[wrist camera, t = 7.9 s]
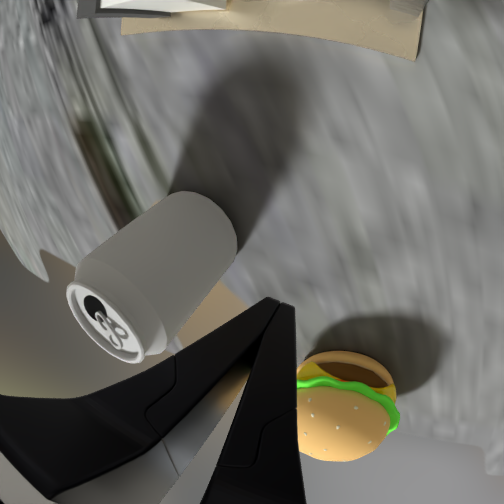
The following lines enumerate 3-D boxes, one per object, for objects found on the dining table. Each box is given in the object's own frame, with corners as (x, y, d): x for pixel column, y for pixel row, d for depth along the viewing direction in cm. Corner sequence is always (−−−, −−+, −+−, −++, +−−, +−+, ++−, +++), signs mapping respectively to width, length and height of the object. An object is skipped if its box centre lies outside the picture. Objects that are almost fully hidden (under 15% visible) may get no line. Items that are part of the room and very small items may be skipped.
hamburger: (282, 390, 34) (254, 453, 27) (298, 323, 27) (262, 404, 20) (379, 417, 30) (363, 483, 24) (425, 357, 23) (417, 445, 17)
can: (193, 167, 23) (67, 252, 13) (261, 241, 24) (172, 363, 15) (150, 219, 27) (51, 301, 18) (207, 280, 28) (126, 379, 19)
